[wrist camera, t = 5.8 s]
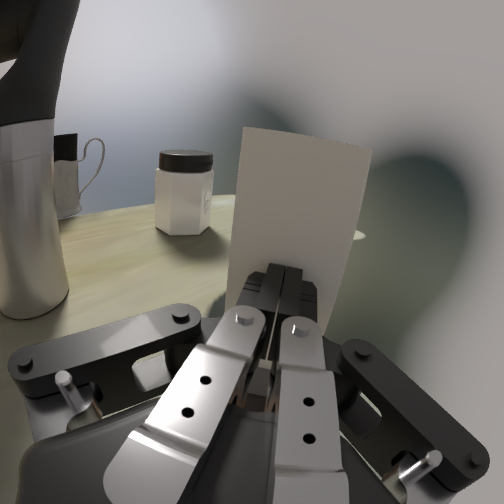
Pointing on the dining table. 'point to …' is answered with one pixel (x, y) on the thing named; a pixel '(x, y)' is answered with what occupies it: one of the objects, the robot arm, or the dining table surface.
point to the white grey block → (295, 215)
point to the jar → (183, 191)
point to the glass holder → (68, 174)
